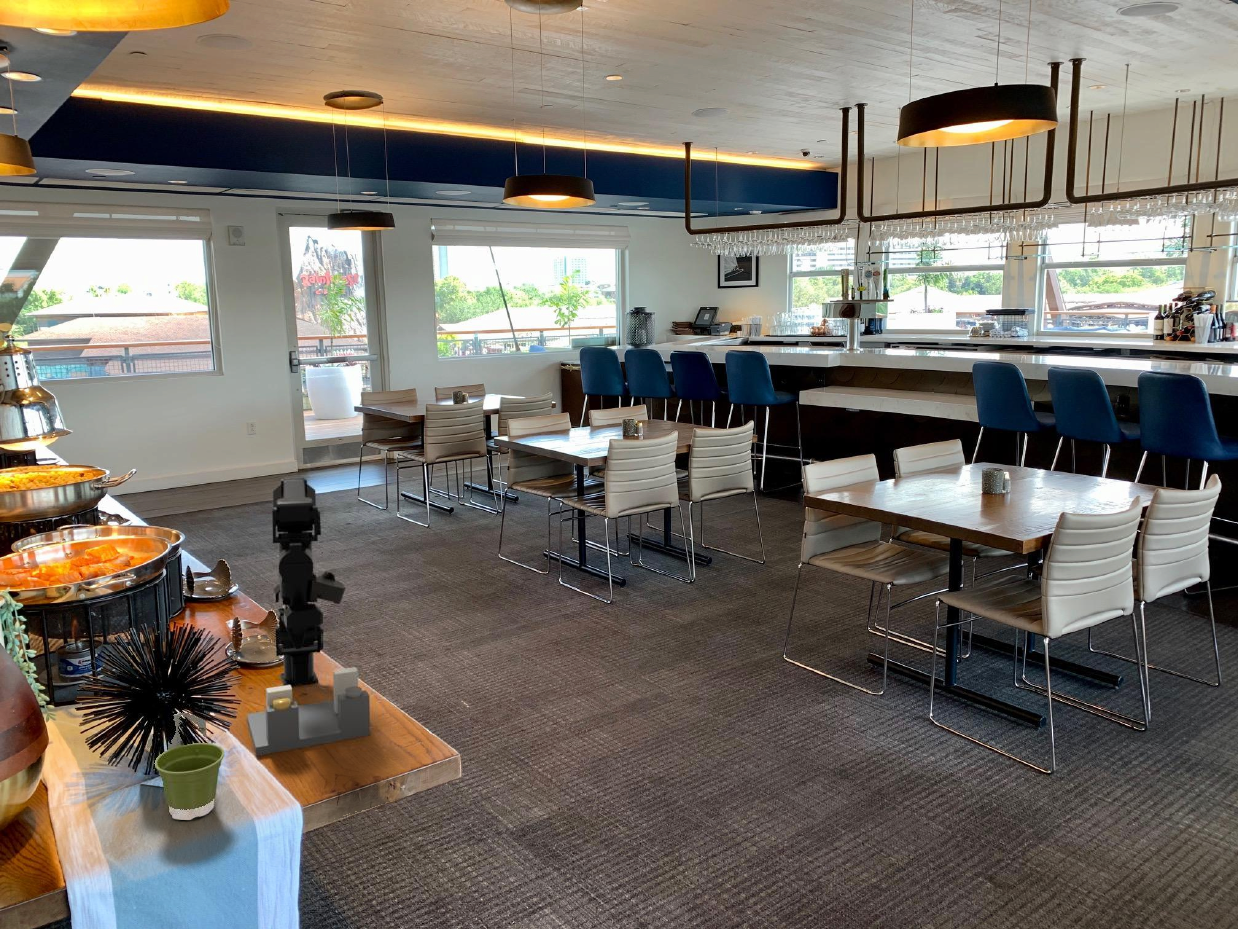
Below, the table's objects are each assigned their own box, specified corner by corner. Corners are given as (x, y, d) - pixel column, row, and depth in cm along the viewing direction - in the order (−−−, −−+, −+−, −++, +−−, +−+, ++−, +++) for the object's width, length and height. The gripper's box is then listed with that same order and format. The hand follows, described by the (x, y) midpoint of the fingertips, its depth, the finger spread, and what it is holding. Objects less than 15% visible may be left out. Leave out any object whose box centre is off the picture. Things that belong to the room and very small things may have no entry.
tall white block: (267, 729, 160) (266, 688, 159) (291, 725, 162) (290, 684, 160) (268, 734, 158) (267, 692, 157) (293, 730, 160) (292, 689, 159)
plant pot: (180, 792, 142) (178, 740, 141) (238, 797, 141) (236, 745, 140) (143, 825, 133) (140, 770, 132) (205, 831, 132) (202, 775, 131)
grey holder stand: (247, 722, 167) (245, 677, 165) (353, 704, 175) (352, 662, 174) (256, 756, 154) (254, 708, 153) (370, 735, 163) (369, 690, 162)
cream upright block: (334, 709, 169) (333, 670, 167) (356, 705, 170) (355, 667, 169) (336, 713, 167) (335, 674, 166) (358, 710, 169) (357, 671, 167)
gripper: (351, 576, 164) (352, 659, 166) (331, 551, 180) (333, 626, 182) (285, 583, 158) (288, 668, 161) (271, 556, 175) (274, 634, 177)
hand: (298, 648), depth 171 cm, fingers closed
